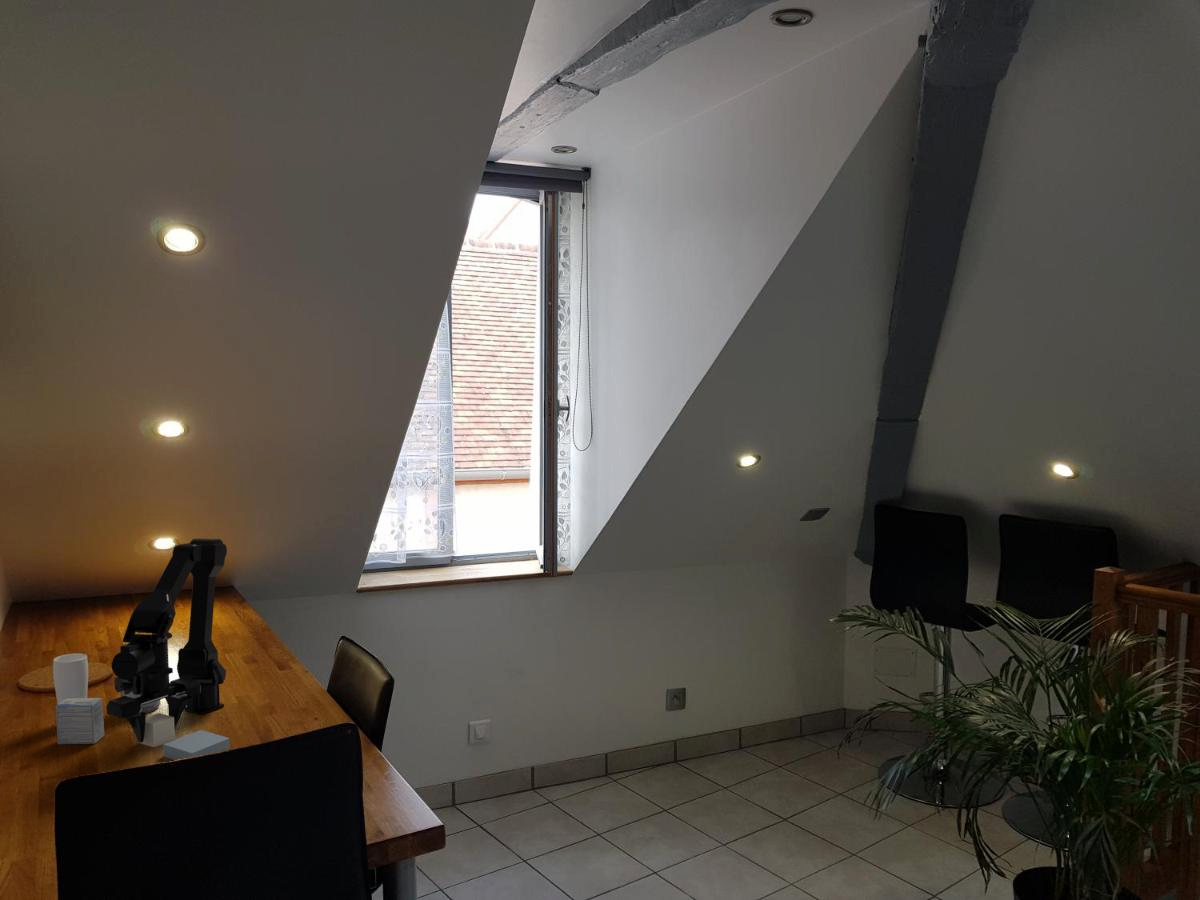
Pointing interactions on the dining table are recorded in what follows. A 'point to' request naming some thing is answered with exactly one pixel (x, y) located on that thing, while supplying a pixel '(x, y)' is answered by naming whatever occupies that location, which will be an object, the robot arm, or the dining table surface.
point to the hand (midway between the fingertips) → (156, 736)
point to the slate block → (195, 745)
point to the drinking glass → (70, 676)
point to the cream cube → (158, 730)
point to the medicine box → (80, 721)
